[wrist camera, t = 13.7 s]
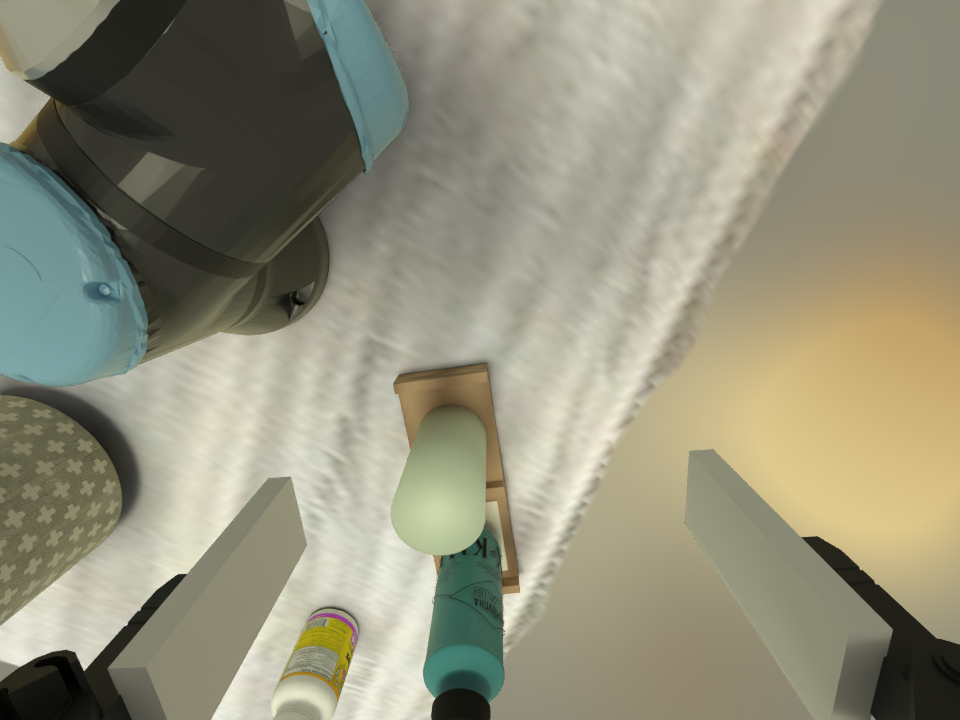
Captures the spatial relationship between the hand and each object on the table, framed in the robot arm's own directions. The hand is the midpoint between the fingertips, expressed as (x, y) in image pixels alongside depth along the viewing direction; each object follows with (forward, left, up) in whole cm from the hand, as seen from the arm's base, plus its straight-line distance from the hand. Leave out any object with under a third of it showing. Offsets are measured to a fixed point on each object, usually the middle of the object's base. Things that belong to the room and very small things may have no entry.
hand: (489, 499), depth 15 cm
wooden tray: (-5, -17, -30) cm, 35 cm away
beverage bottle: (-5, -24, -28) cm, 37 cm away
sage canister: (-5, -11, -28) cm, 31 cm away
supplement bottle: (-24, -35, -30) cm, 52 cm away
